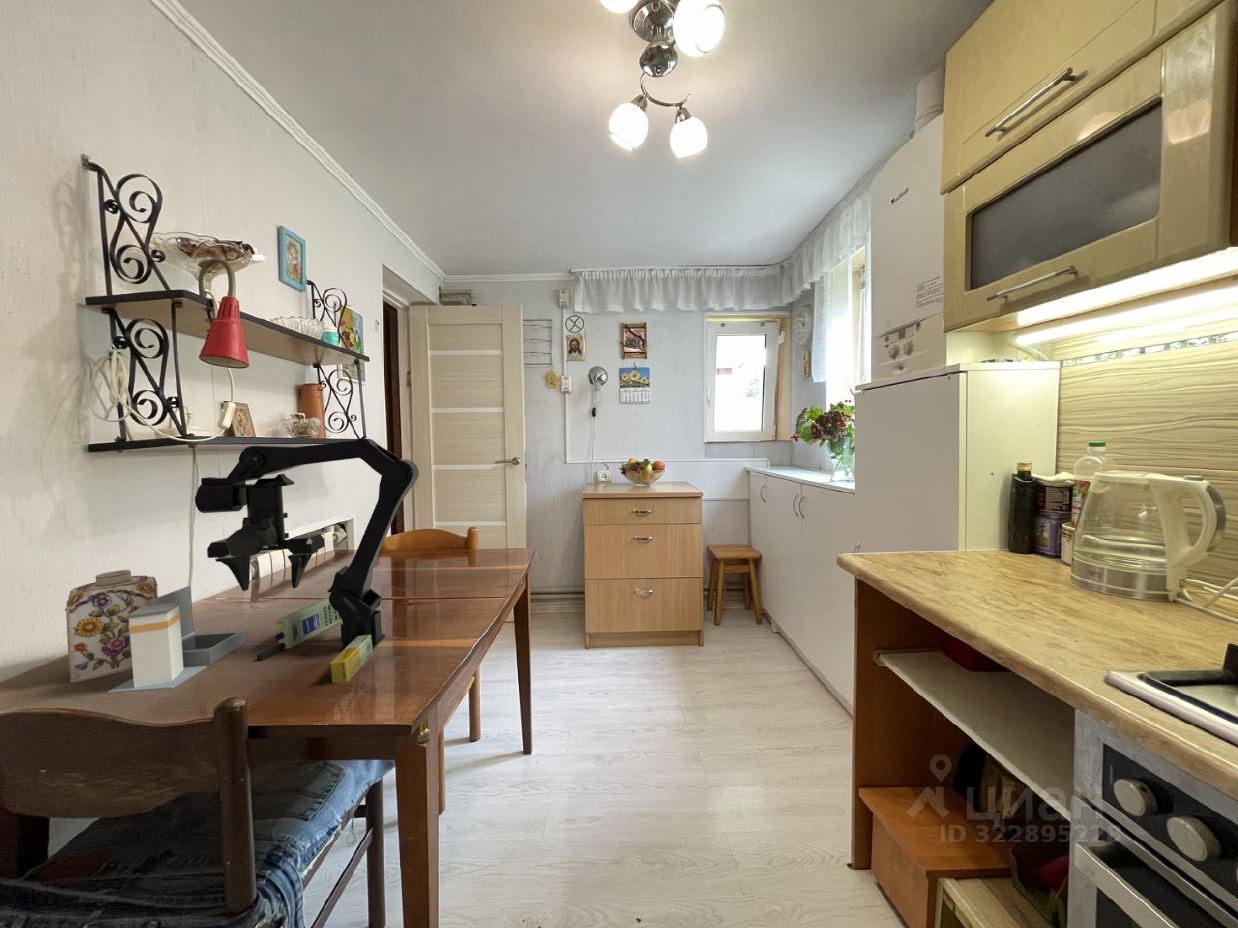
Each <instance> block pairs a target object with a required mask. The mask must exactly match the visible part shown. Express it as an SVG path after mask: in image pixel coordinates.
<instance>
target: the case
mask: <svg viewBox="0 0 1238 928" xmlns="http://www.w3.org/2000/svg"><path fill="white" fill-rule="evenodd" d="M192 597H193V596H192V587H191V585H189V586H185V587H182V588H180V589H177V590H174V591H172V592H169V593H167V594H164V595H161V596H158V597H157V598H155V599H152V600H149V601H147V606H151V605H159V604H166V603H174V602H180V605H179V612H180V628H181V642H182V656H183V667H195V666H207V665H212V664H214V663H215V662H217V661H219V660H220V659H222V658H223V657H225V656H227V655H229V654H230V653H232V652H233V651H235V650H237V649H238V648H240V647H241V646H244V645H245V644H246V640H245V630H243V631H242V630H240V631H239V630H238V631H237V630H236V631H223V632H222V631H221V632H207V633H196V631H195V630H194V629H195V625H194V615H193V613H194V612H193V600H192V599H193V598H192Z"/></svg>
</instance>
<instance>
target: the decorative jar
mask: <svg viewBox="0 0 1238 928" xmlns="http://www.w3.org/2000/svg"><path fill="white" fill-rule="evenodd" d="M158 586H159V584H158V583H157V579H156V577H155V576H148V575H145V574H144V575H132V572H131V570H130V569H121V570H120V569H119V570H114V571H107V572H102V573H100V574H97V575H95V582H91V583H87V584H83V585H80V586H76V587H75V588H73V589H71V590H70V591H69V595H68V597H67V599H68V600H67V601H66V607H65V609H64V611H65V614H66V638H67V639H66V640H67V652H68V653H67V654H68V655H67V656H68V667H69V673H70V674H69V675H70V676H69V677H70V678H69V680H70V683H71V684H74V683H78V682H83V681H88V680H92V679H95V678H99V677H104V676H108V675H112V674H117V673H121V672H126V671H129V670H133V667H132V654H131V641H130V634H129V618H128V617H127V616H128V615H129V614H131V613H133V612H134V611H136V610H137V609H139V608H141V607H143V606H147V601H149V600H152V599H155V598H157V597H159V594H158V593H159V590H158V589H159V588H158Z"/></svg>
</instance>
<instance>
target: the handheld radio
mask: <svg viewBox="0 0 1238 928" xmlns="http://www.w3.org/2000/svg"><path fill="white" fill-rule="evenodd" d="M329 596H330V595H328V596H326V597H324V598H322V599H319V600H317V601H315V602H313V603H311V604H309V605H307V606H304V607H302V608H300V609H297V610H295V611H293V612H290V613H289V614H286V615H284V616H281V617H279V618H278V619H276V620H274V623H276V625H275V626H274V628H275V630H277V634H276V635H275V639H276V641H278V644H277V645H275V646H273V647H270V648H269V649H267V650H265V651H263V652H261V653H259V654H257V655H256V660H257V661H258V662H262V661H263V660H265V659H267V658H269V657H271V656H273V655H274V654H275V655H276V653H278V652H279V651H282V650H287V649H291V648H293V647H295V646H297V645H299V644H301V643H303V642H304V641H306V640H308V639H311V638H312V637H314V636H315V635H318V634H319V633H321V632H323V631H325V630H326V629H329V628H330V627H332V626H334V625H335V624H337V623H339V622H341V621H342V619H341V617H340V615H339V613H338V611H336V610H334V609H333V608H332V606H331V604H330V603H329Z"/></svg>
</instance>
